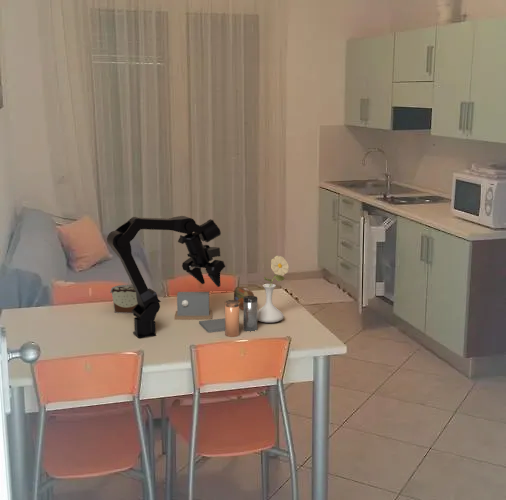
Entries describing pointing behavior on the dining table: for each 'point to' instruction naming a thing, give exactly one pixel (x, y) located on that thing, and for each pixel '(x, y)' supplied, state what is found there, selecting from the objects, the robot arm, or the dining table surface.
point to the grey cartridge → (250, 313)
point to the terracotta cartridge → (232, 318)
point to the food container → (124, 298)
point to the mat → (213, 325)
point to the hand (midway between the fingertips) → (211, 285)
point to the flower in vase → (269, 310)
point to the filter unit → (193, 306)
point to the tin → (241, 295)
